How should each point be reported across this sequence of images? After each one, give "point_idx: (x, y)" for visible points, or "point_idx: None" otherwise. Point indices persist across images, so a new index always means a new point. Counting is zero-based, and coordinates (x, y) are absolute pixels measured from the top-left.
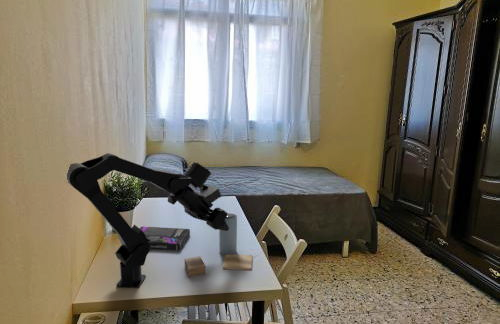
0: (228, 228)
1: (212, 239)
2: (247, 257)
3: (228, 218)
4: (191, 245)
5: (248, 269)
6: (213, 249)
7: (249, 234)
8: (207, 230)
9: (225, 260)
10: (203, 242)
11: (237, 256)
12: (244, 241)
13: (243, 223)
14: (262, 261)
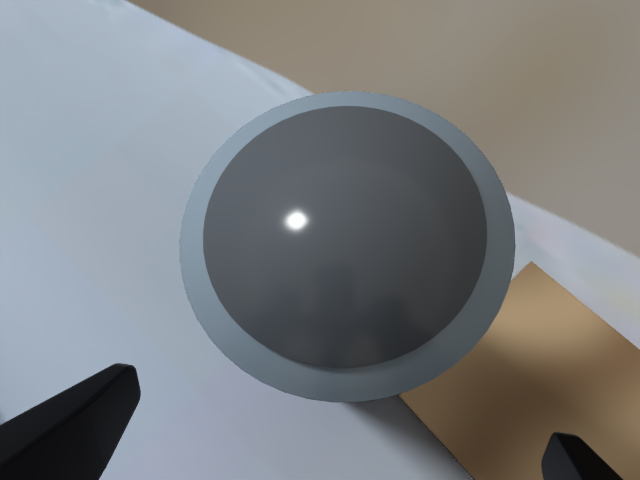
0: (585, 454)
1: (128, 274)
2: (541, 309)
3: (460, 311)
4: None
5: None
6: (248, 382)
7: (257, 72)
8: (10, 207)
9: (485, 475)
10: (110, 354)
11: (483, 351)
12: None
13: (127, 9)
14: (624, 261)
